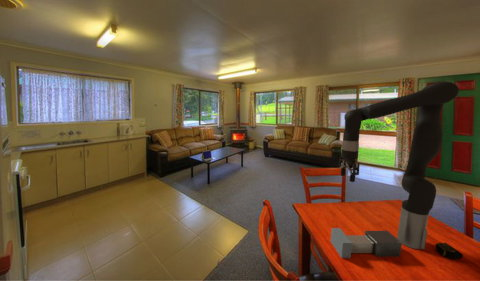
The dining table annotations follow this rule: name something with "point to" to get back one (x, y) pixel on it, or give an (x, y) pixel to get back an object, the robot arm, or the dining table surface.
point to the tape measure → (448, 251)
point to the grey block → (341, 243)
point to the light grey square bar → (361, 244)
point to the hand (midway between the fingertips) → (347, 178)
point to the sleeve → (385, 244)
